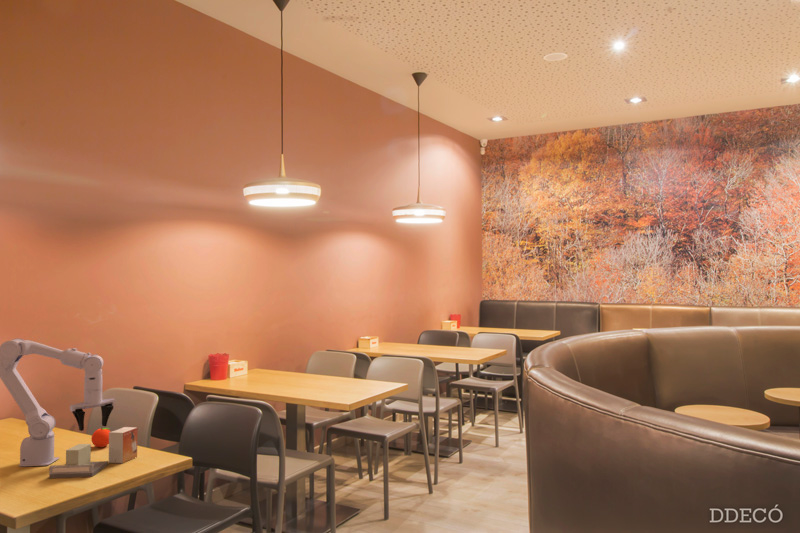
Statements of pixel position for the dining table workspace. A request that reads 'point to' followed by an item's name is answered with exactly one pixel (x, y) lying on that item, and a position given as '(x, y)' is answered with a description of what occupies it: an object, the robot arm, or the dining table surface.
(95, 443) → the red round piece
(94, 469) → the grey square slab
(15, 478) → the dining table surface
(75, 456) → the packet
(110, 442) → the small box
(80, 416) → the robot arm
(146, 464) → the dining table surface
